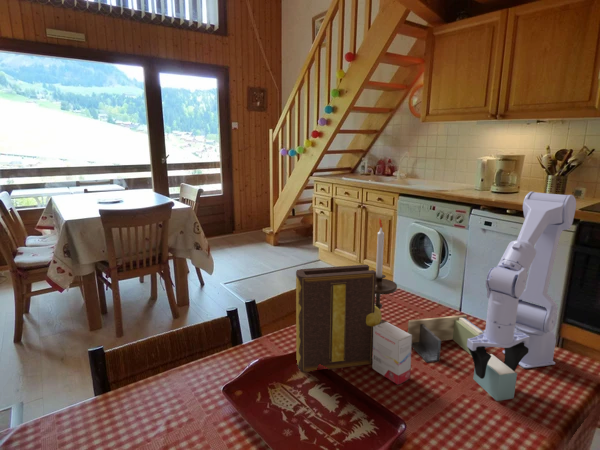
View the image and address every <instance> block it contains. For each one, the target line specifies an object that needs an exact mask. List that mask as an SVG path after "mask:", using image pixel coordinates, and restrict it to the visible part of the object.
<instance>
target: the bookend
mask: <svg viewBox="0 0 600 450" xmlns="http://www.w3.org/2000/svg"><path fill="white" fill-rule="evenodd" d="M441 344H442V341H441V340H440V339H439V338H438V337H437V336H436V335H435V334H434V333H432V332H431V331H430V330H429V329H428V328H427V327H426V326H425V325H424V324H420V336H419V342H414V343H411V348H412V349H414V350H415V352H416V353H417V354H418V355H419V356H420V357H421V358H422V359H423V360H424V362H426V363H435V362H440V358H441V348H442V347H441V346H442V345H441Z"/></svg>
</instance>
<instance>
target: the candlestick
mask: <svg viewBox="0 0 600 450" xmlns="http://www.w3.org/2000/svg"><path fill="white" fill-rule="evenodd" d="M378 222H379V227H380V228H379V231H378V232H377V244H376V265H375V271H376V286H375V306H376V307H378V308H379V309H380V310H381V309H382V308H383V304H382V303H381V295H390V294H393V293H395V292H396V291H398V285H397V282H395V281H393V280H391V279H387V276H386V275H385V274H383V270H384V269H383V268H384V267H383V265H384V263H383V262H384V246H385V245H384V243H385V242H384V240H385V232H384V231H383V223H382V220H381V218H380V217H379V219H378ZM384 322H388V321H387V320H384V319H381V322H380V324H381V323H384ZM388 323H390V322H388ZM378 325H379V324H378Z"/></svg>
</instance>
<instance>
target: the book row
mask: <svg viewBox="0 0 600 450" xmlns="http://www.w3.org/2000/svg"><path fill="white" fill-rule="evenodd" d="M483 333H484V330H482V329H481V328H479V327H478V326H477V325H475V324H474V323H472V322H471V321H470V320H469V319H466V318H459V320H455V321H454V331H453V339H452V341H454V342H455V343H456V344H457V345H459V346H460V347H461V348H462V349H463V350H464V351H466V352H467V353H468V354H469V355H471V353H470V351H469V349H468V347H467V339H469V338H473V337H476V336H478V335H481V334H483ZM471 356H472V355H471Z"/></svg>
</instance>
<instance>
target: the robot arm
mask: <svg viewBox="0 0 600 450" xmlns="http://www.w3.org/2000/svg"><path fill="white" fill-rule="evenodd" d="M576 209H577V200H576V198H575V195H574V194H558V193H557V194H556V193H547V192H535V191H529V192H528V193H527V194H526V195H525V197H524V199H523V202H522V211H523V218H524V220H523V223H522V226H521V228H520V232H519V233H518V236H517V238H516V240H512V241H510V242H509V243H508V245H507V247H506V248H505V250H504V252H503V255H502V256H501V258H500V260H499V262H498V263H497V265H496V266H495V267H491V268H489V271H487V275H486V279H485V288H486V297H487V298H488V304H487V311H486V322H485V329H484V330H483V331H484V333H483V334H481V335H478V336H476V337H473V338H469V339H467V347H468V349H469V351H470V353H471V359H472V361H473V366H474V368H475V373H476V375H477V376H479V377H480V378H481V379H483V378H484V377H485V373H486V367H487V364H488V361H489V359H490V358H491V355H490V354H489V353H488V352H487V348H503V350H502V353H503V354H504V362H503V363H504V364H506V365H507V366H508V367H509V368H511V369H512V370H513V371H515V372H516V369H517V368H518V366H520V367H521V368H522V369H531V368H537V367H545V366H551V365H552V366H553V365H556V362H555V361H554V355H555V348H556V336H555V333H554V328H555V326H556V324H557V319H558V314H557V313H558V308H559V307H558V304H557V302H556V301H555V300H554V299H553V298H552V297H551V296H550V295H549V293H548V291H549V285H550V281H551V277H552V273H553V269H554V264H555V259H556V256H557V251H558V246H559V242H560V238H561V236H562V233H563V231H568V230H571V227H572V225H573V223H574V217H575V214H576Z"/></svg>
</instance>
